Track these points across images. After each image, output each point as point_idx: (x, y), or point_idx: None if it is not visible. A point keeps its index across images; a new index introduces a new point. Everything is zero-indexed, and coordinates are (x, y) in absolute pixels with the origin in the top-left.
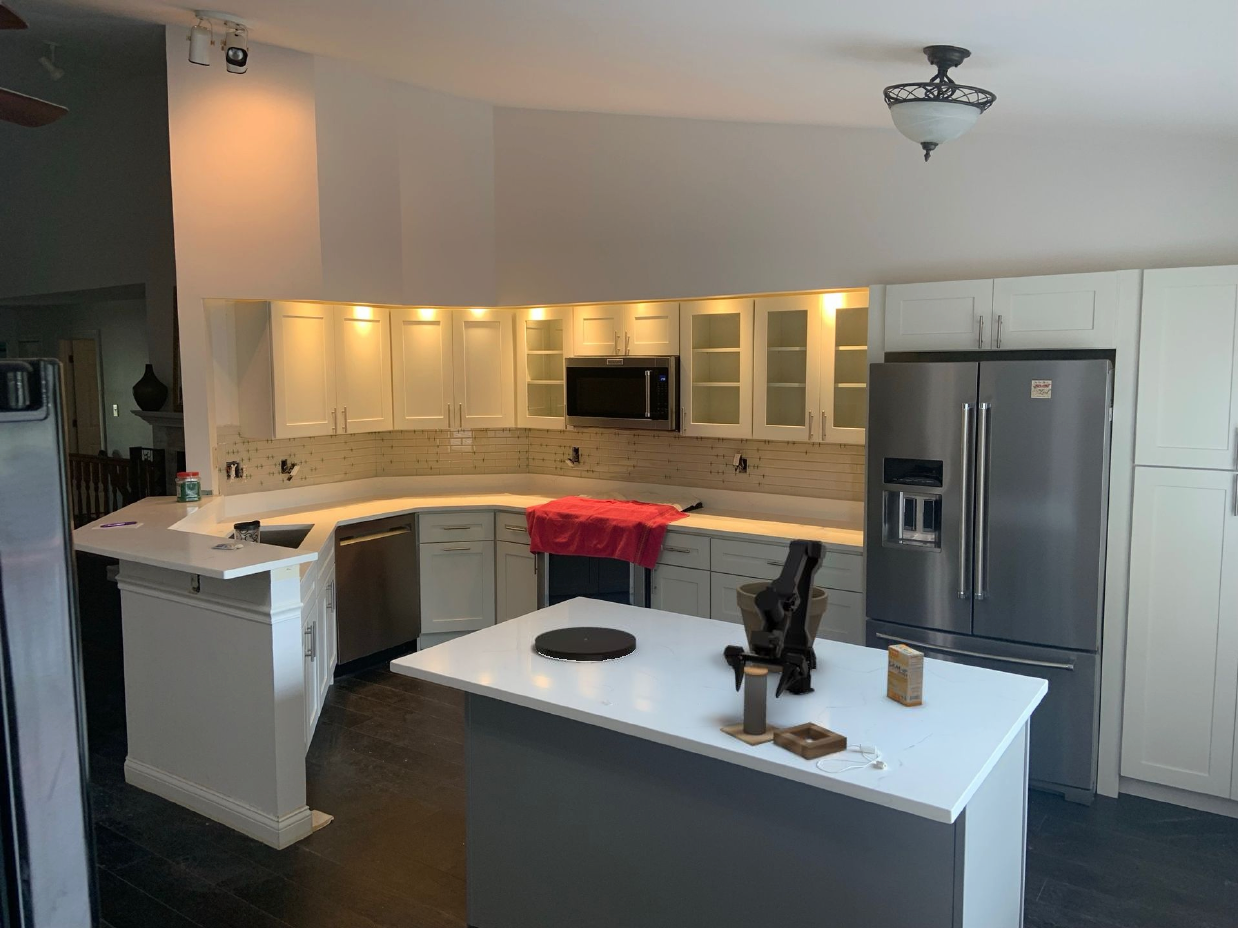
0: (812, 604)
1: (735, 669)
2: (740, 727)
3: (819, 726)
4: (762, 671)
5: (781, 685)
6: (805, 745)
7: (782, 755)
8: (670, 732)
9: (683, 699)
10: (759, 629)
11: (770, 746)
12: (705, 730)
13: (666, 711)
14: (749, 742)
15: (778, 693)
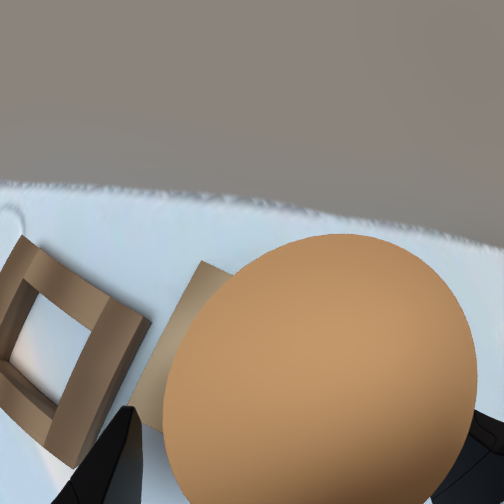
0: None
1: (498, 426)
2: None
3: (34, 436)
4: (217, 360)
5: (87, 461)
6: (31, 246)
7: (100, 239)
8: (423, 239)
9: None
10: None
11: (149, 287)
12: None
13: (487, 353)
14: (215, 268)
15: (114, 421)
